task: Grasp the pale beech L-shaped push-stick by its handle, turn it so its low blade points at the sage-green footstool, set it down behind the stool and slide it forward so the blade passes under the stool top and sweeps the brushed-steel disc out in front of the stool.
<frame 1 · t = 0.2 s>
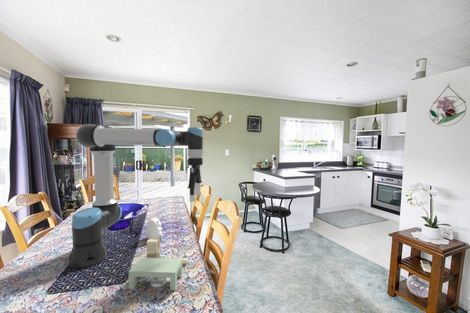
hand: (195, 198, 115), 27 cm above the table, fingers open, 13 cm apart
footstool: (157, 281, 89), on the table
figurine: (153, 239, 128), on the table
token: (158, 283, 88), on the table
pusher: (153, 262, 103), on the table
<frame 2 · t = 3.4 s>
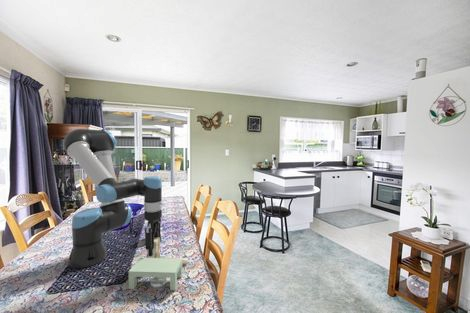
hand: (153, 258, 103), 2 cm above the table, fingers closed on pusher, 4 cm apart
pusher: (153, 262, 103), on the table, touching gripper
everything else where it was.
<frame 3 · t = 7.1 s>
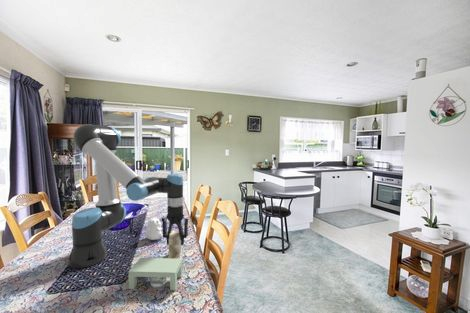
hand: (175, 250, 110), 2 cm above the table, fingers closed on pusher, 4 cm apart
pusher: (175, 254, 110), on the table, touching gripper
everything else where it was.
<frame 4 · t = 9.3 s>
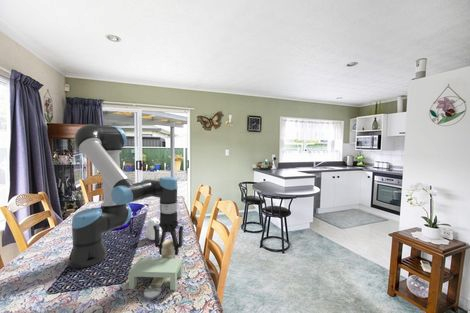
hand: (169, 261, 100), 2 cm above the table, fingers closed on pusher, 4 cm apart
token: (152, 293, 82), on the table
pusher: (168, 265, 100), on the table, touching gripper
everything else where it was.
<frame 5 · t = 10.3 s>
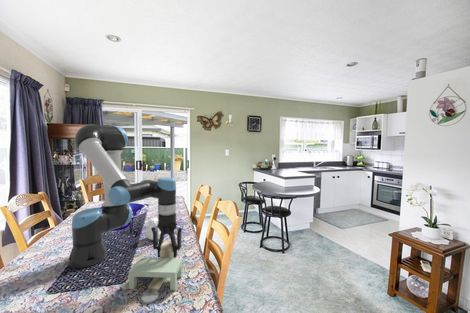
hand: (167, 263, 98), 2 cm above the table, fingers closed on pusher, 4 cm apart
token: (150, 298, 80), on the table
pusher: (167, 267, 98), on the table, touching gripper
everything else where it was.
when the fingers open (2 cm above the table, at t = 11.0 s): pusher stays where it is, on the table.
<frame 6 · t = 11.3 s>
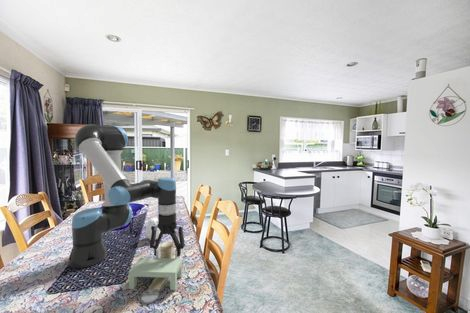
hand: (167, 262, 98), 2 cm above the table, fingers open, 8 cm apart
pusher: (167, 268, 98), on the table
everything else where it was.
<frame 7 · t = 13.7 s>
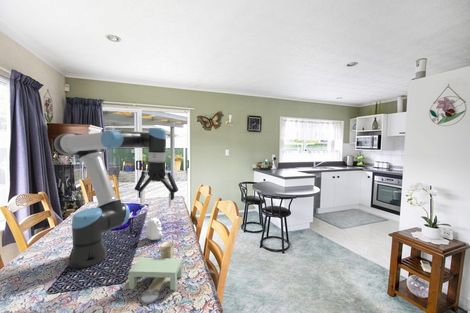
hand: (156, 205, 104), 26 cm above the table, fingers open, 13 cm apart
nothing on the table moved.
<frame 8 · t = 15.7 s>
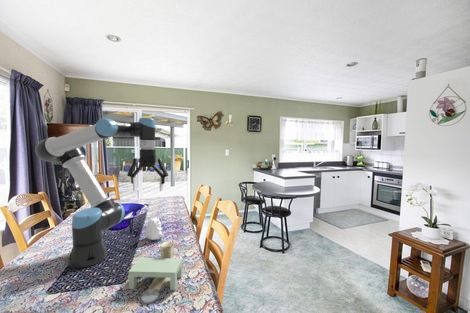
hand: (148, 190, 112), 32 cm above the table, fingers open, 13 cm apart
nothing on the table moved.
at the end: token inside the target area (2.9 cm from its centre), on the table; token moved 8.1 cm from its start; the gripper is holding nothing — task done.
